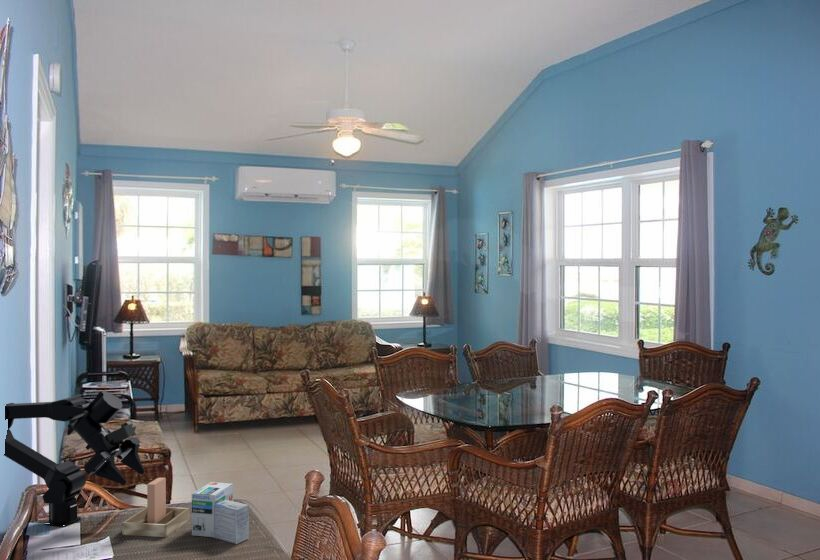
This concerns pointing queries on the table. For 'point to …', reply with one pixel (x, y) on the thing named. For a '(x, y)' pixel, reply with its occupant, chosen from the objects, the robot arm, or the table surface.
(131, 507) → the table surface
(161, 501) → the rectangular block
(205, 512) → the light bulb box
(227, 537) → the medicine box
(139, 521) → the slot box
